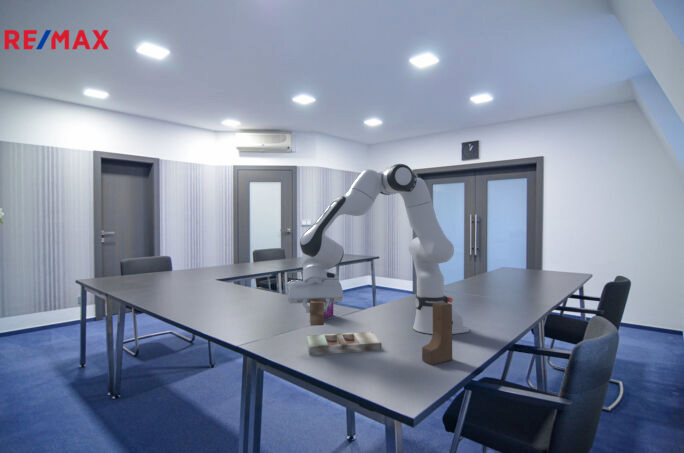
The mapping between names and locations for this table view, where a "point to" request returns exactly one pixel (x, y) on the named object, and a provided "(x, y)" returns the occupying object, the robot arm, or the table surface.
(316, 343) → the track
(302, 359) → the table surface
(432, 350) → the wooden block
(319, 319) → the walnut block
